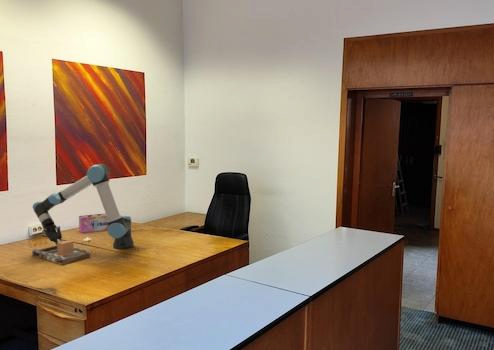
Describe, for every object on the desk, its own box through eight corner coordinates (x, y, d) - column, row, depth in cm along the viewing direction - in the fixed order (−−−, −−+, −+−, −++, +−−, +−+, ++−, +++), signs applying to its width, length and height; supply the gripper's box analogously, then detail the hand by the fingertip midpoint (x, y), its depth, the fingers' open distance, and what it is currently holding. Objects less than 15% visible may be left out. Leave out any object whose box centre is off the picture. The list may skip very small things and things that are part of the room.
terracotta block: (73, 252, 294) (73, 241, 294) (63, 255, 288) (62, 243, 287) (68, 251, 298) (67, 240, 297) (57, 254, 291) (57, 242, 290)
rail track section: (89, 257, 295) (89, 250, 294) (63, 264, 278) (63, 257, 278) (58, 249, 314) (58, 243, 313) (32, 255, 297) (32, 249, 297)
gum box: (107, 228, 383) (106, 213, 382) (109, 229, 377) (109, 214, 375) (79, 231, 370) (78, 215, 368) (81, 233, 363) (80, 217, 362)
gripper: (52, 222, 309) (67, 249, 302) (35, 225, 298) (50, 253, 291) (57, 216, 306) (72, 242, 299) (39, 219, 295) (55, 246, 288)
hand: (61, 247), depth 295 cm, fingers closed
